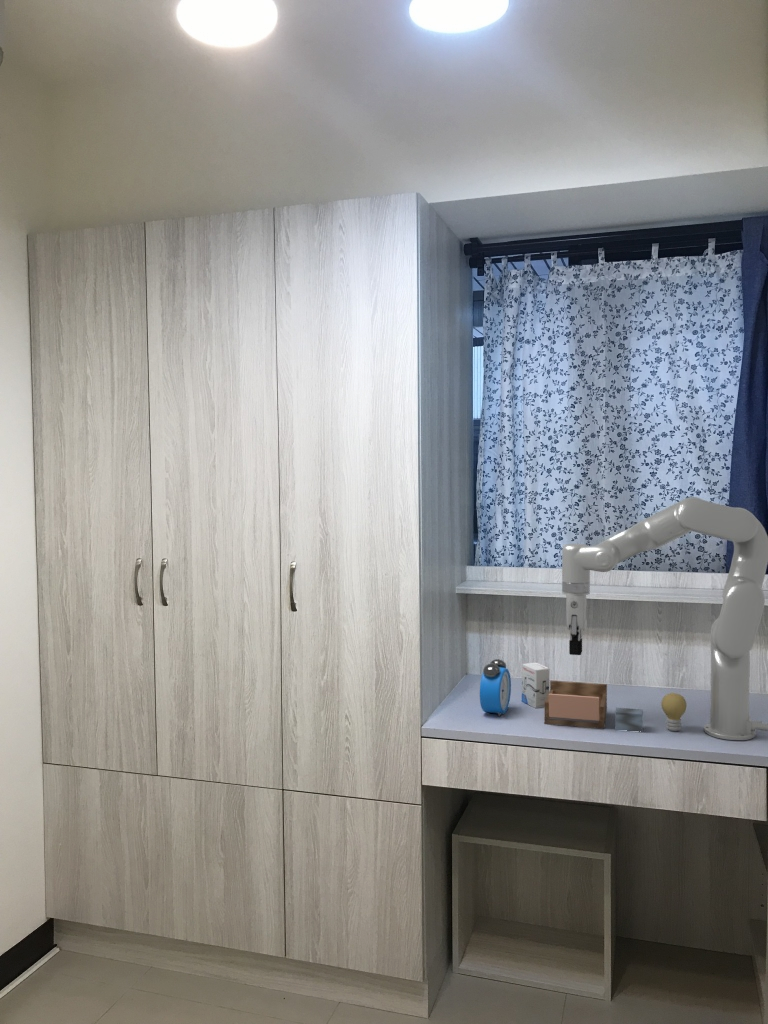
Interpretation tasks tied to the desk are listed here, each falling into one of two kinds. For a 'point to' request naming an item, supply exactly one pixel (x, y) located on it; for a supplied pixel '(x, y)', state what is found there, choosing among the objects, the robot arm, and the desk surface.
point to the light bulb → (673, 710)
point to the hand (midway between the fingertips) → (575, 653)
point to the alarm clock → (495, 687)
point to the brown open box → (578, 690)
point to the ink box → (535, 684)
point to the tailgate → (574, 708)
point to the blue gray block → (629, 719)
